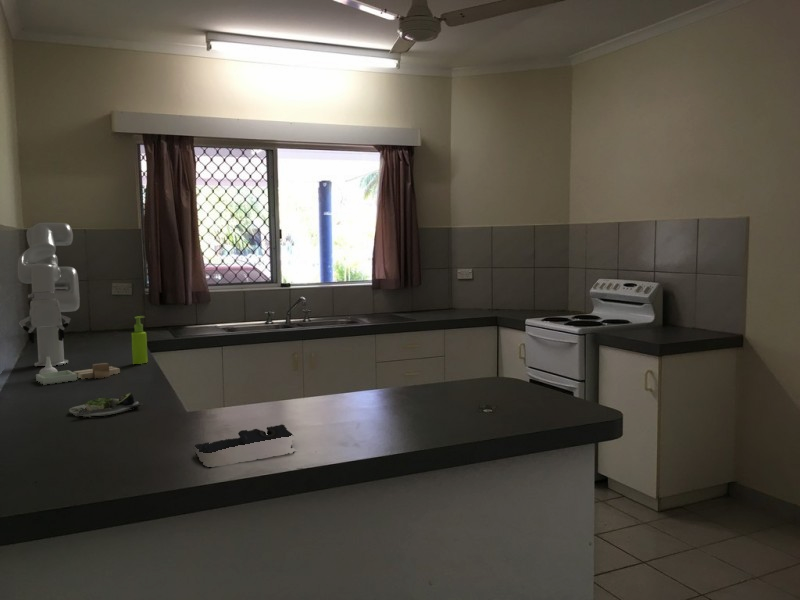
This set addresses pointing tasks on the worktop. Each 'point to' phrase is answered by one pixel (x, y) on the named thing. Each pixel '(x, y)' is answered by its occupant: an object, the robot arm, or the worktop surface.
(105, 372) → the block
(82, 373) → the board
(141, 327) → the soap dispenser
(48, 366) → the garlic bulb
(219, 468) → the worktop surface
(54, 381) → the dish
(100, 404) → the salad plate
